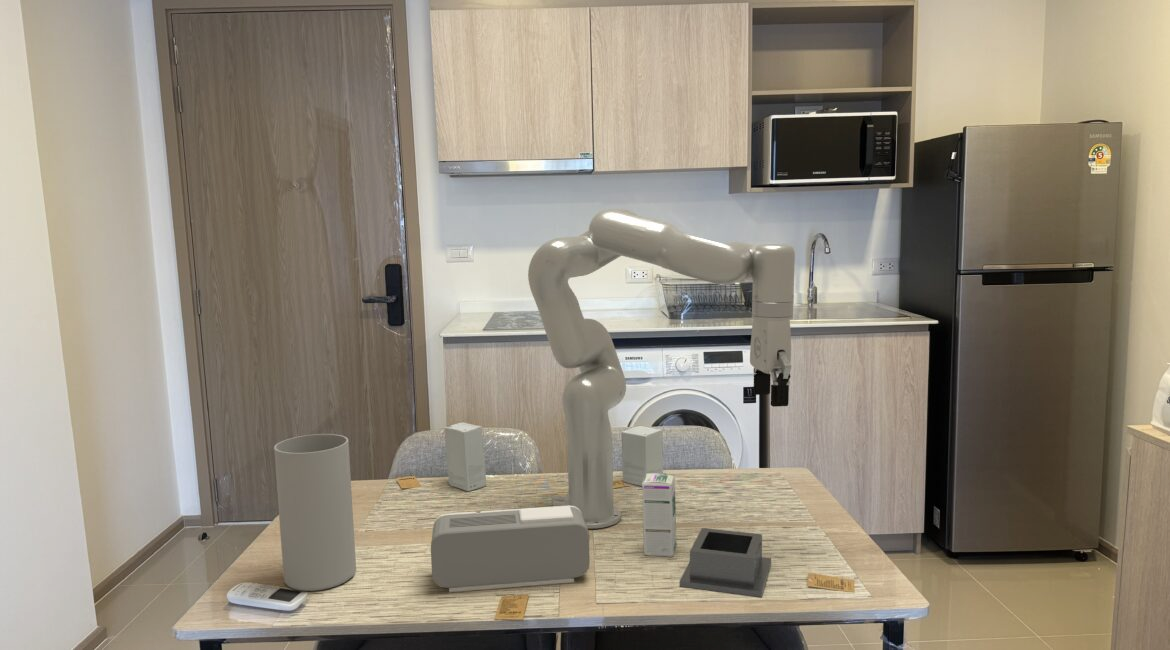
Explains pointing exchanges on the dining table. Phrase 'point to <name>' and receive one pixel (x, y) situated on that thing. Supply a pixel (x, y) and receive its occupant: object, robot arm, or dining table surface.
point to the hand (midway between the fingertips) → (770, 399)
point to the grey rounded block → (509, 548)
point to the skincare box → (465, 456)
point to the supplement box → (641, 453)
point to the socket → (727, 563)
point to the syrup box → (659, 514)
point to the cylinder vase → (315, 511)
